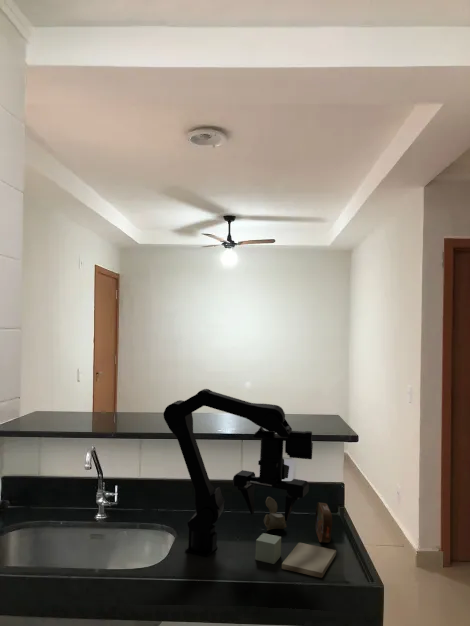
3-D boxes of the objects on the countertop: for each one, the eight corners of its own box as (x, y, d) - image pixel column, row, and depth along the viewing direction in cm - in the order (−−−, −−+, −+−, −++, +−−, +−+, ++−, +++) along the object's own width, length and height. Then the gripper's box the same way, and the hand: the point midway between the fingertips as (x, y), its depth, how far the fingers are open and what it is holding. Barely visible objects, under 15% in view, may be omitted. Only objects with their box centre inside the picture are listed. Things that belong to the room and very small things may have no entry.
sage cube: (255, 559, 135) (256, 540, 135) (262, 552, 139) (263, 533, 139) (274, 564, 133) (274, 544, 133) (280, 556, 137) (281, 536, 137)
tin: (314, 526, 158) (315, 497, 158) (325, 526, 158) (326, 498, 158) (320, 548, 143) (321, 516, 143) (332, 548, 143) (333, 517, 143)
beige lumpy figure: (284, 531, 149) (268, 496, 152) (265, 539, 151) (250, 505, 154) (294, 523, 157) (279, 490, 160) (275, 531, 159) (261, 498, 162)
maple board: (281, 568, 130) (281, 563, 130) (298, 546, 143) (298, 542, 143) (321, 577, 126) (322, 572, 126) (335, 554, 139) (336, 550, 139)
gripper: (315, 454, 140) (313, 513, 140) (249, 444, 147) (247, 501, 147) (303, 464, 130) (300, 528, 129) (233, 453, 137) (230, 514, 137)
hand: (269, 517), depth 136 cm, fingers open, 9 cm apart
